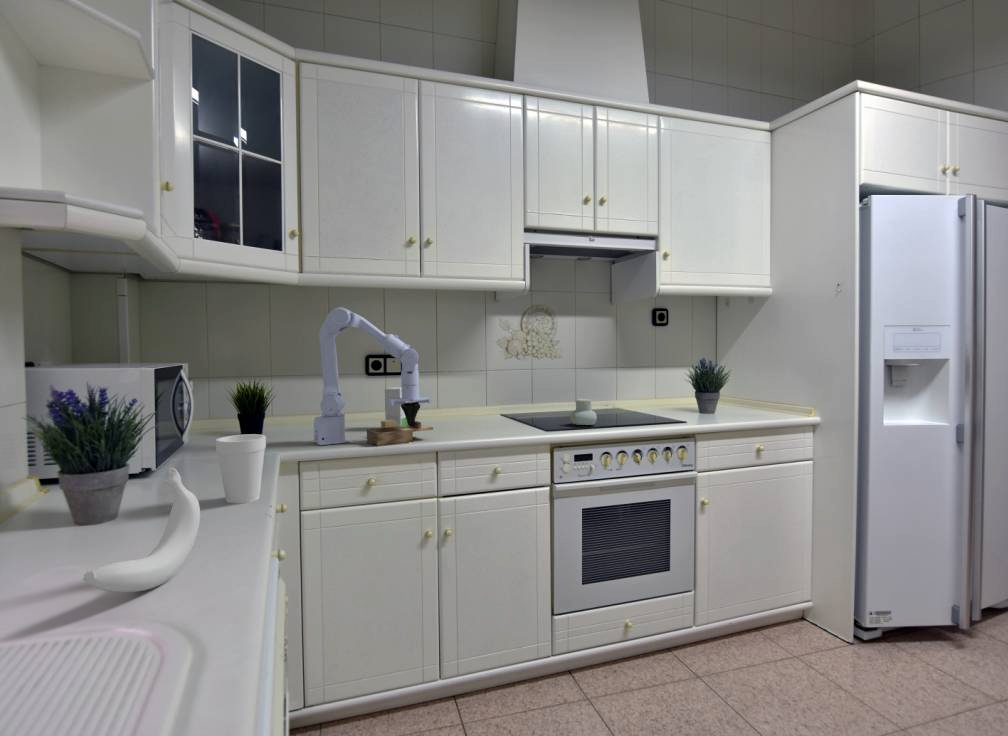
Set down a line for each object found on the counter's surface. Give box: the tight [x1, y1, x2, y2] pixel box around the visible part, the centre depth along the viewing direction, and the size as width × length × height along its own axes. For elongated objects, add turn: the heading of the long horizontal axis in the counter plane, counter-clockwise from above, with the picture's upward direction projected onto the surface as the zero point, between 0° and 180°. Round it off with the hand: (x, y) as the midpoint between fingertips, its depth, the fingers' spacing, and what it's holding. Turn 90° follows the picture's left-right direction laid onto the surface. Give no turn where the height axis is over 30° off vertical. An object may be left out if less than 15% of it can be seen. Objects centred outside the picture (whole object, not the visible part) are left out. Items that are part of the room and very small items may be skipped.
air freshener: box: [570, 398, 598, 426], centre depth 216 cm, size 11×8×10 cm
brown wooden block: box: [366, 426, 414, 447], centre depth 183 cm, size 12×9×4 cm
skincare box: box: [384, 386, 408, 427], centre depth 211 cm, size 8×7×16 cm
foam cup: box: [215, 433, 267, 504], centre depth 118 cm, size 10×9×13 cm
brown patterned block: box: [380, 419, 396, 428], centre depth 194 cm, size 4×4×6 cm
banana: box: [82, 466, 201, 593], centre depth 77 cm, size 5×19×15 cm, turn 178°
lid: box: [393, 420, 434, 433], centre depth 188 cm, size 11×8×3 cm
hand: (410, 425), depth 187 cm, fingers closed
